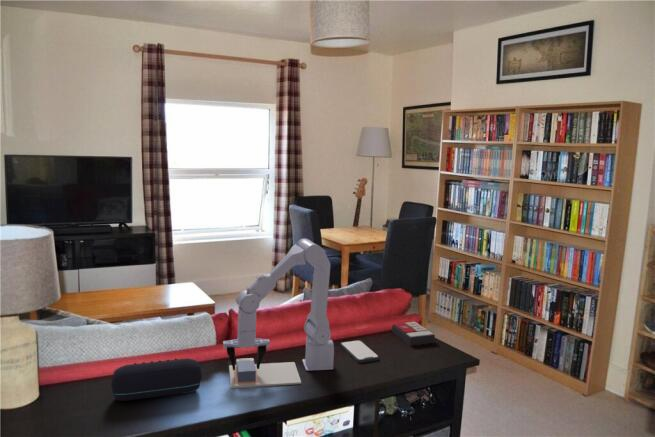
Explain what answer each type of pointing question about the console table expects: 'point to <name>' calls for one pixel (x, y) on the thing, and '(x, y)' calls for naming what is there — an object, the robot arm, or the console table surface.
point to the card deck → (245, 369)
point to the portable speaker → (156, 379)
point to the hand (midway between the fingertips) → (245, 368)
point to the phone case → (359, 351)
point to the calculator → (413, 333)
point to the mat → (268, 375)
